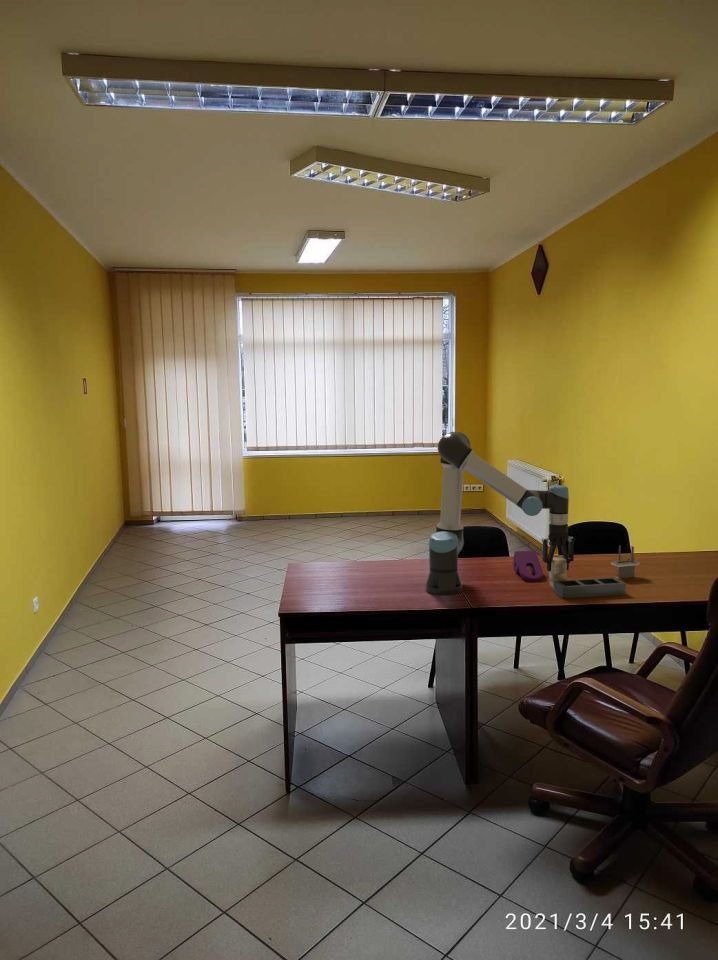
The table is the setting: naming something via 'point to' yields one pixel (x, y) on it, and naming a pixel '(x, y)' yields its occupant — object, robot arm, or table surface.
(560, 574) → the peg
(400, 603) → the table surface
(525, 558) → the mounting bracket
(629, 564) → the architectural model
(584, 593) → the dark grey long frame
